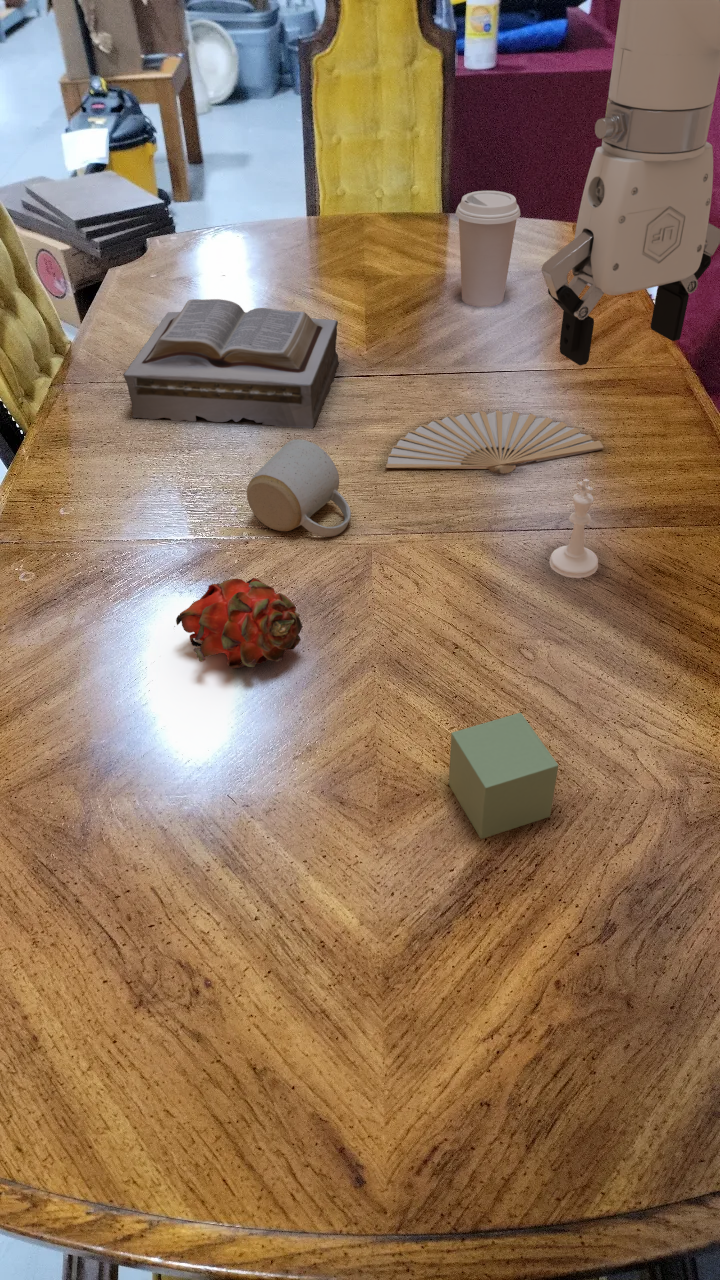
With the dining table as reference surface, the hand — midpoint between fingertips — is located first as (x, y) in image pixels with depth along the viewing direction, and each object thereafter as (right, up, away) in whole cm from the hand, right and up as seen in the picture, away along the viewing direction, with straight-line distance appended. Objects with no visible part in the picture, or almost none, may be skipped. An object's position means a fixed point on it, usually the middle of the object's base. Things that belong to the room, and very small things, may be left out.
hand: (619, 346), depth 84 cm
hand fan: (-7, -1, +36) cm, 37 cm away
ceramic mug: (-28, -12, +25) cm, 40 cm away
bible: (-38, +8, +49) cm, 63 cm away
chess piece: (0, -17, +18) cm, 25 cm away
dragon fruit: (-33, -27, +8) cm, 43 cm away
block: (-11, -38, -6) cm, 40 cm away
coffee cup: (-3, +28, +71) cm, 76 cm away
